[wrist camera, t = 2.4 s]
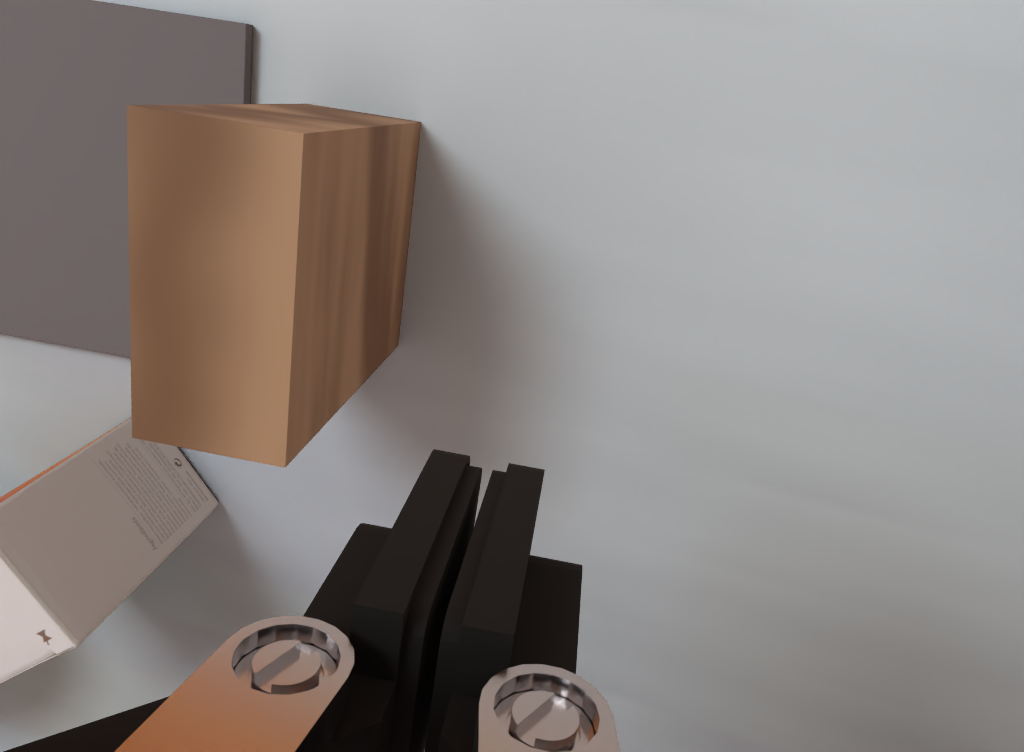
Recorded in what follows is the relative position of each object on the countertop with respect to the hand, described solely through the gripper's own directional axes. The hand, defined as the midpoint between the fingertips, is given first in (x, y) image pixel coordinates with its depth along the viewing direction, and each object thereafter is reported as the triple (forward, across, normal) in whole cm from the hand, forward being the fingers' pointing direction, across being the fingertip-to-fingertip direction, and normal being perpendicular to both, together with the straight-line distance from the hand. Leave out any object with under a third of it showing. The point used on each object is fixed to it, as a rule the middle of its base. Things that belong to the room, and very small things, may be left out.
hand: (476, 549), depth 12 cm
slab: (+21, +8, 0) cm, 23 cm away
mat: (+21, +19, 0) cm, 29 cm away
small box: (+22, +18, +14) cm, 32 cm away
